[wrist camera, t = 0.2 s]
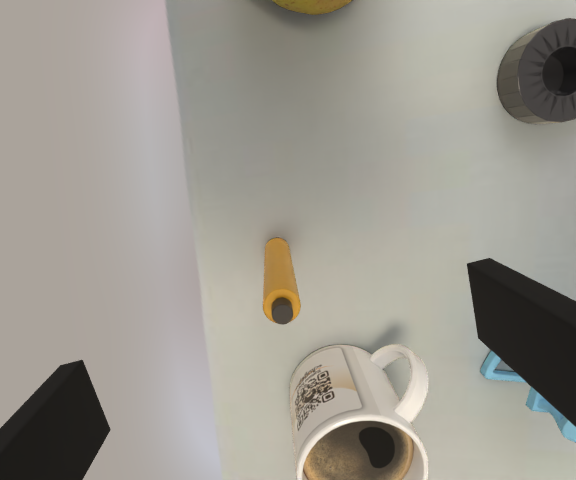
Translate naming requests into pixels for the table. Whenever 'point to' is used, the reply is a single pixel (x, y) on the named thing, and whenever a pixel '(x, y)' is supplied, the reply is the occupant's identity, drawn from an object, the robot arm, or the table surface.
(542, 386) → the robot arm
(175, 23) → the table surface
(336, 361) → the mug
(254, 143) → the table surface
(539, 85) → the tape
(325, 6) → the fruit
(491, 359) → the chair
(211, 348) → the table surface
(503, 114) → the table surface
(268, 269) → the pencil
